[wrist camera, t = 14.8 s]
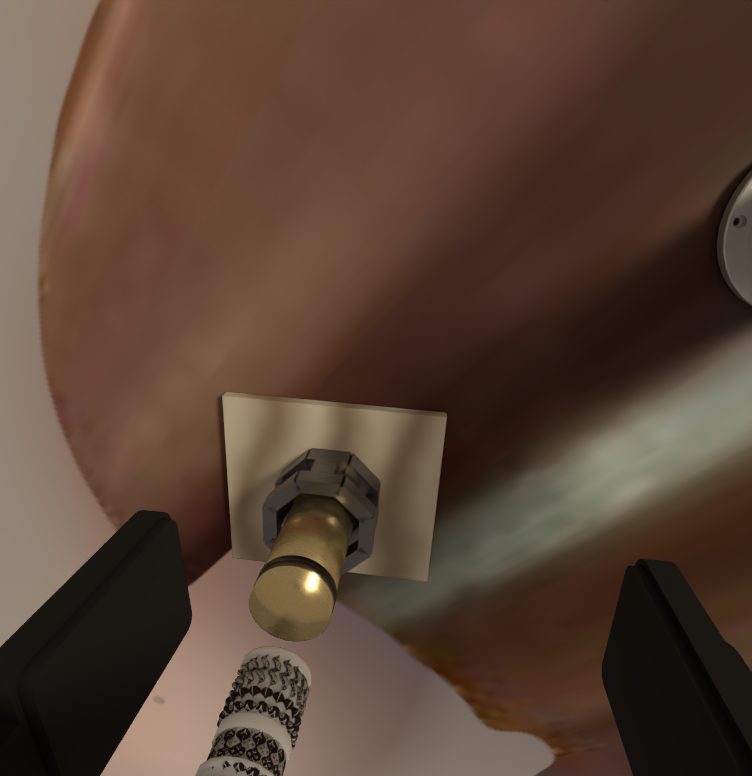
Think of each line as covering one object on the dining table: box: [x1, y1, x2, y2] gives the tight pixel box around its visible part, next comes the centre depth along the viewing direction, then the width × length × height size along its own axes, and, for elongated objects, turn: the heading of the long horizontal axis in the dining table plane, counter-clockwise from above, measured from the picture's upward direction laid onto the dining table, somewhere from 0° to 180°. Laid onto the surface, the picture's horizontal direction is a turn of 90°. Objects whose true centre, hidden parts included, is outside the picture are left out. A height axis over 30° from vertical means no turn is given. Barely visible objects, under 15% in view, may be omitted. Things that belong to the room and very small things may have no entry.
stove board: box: [222, 392, 447, 582], centre depth 45 cm, size 20×18×1 cm
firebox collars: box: [262, 448, 381, 576], centre depth 42 cm, size 9×9×6 cm
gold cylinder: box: [249, 474, 355, 641], centre depth 38 cm, size 6×6×14 cm
